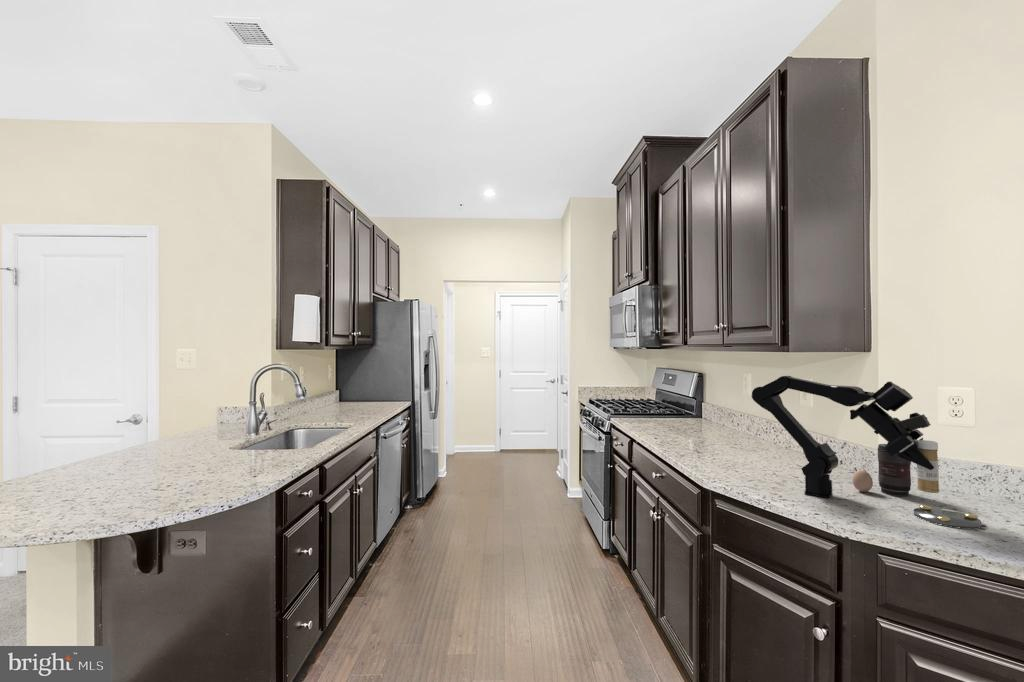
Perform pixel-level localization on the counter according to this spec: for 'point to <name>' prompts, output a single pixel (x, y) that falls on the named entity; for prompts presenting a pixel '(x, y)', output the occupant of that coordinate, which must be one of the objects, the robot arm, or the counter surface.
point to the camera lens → (893, 473)
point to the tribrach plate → (947, 517)
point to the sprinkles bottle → (926, 477)
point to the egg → (862, 481)
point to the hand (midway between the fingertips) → (934, 467)
